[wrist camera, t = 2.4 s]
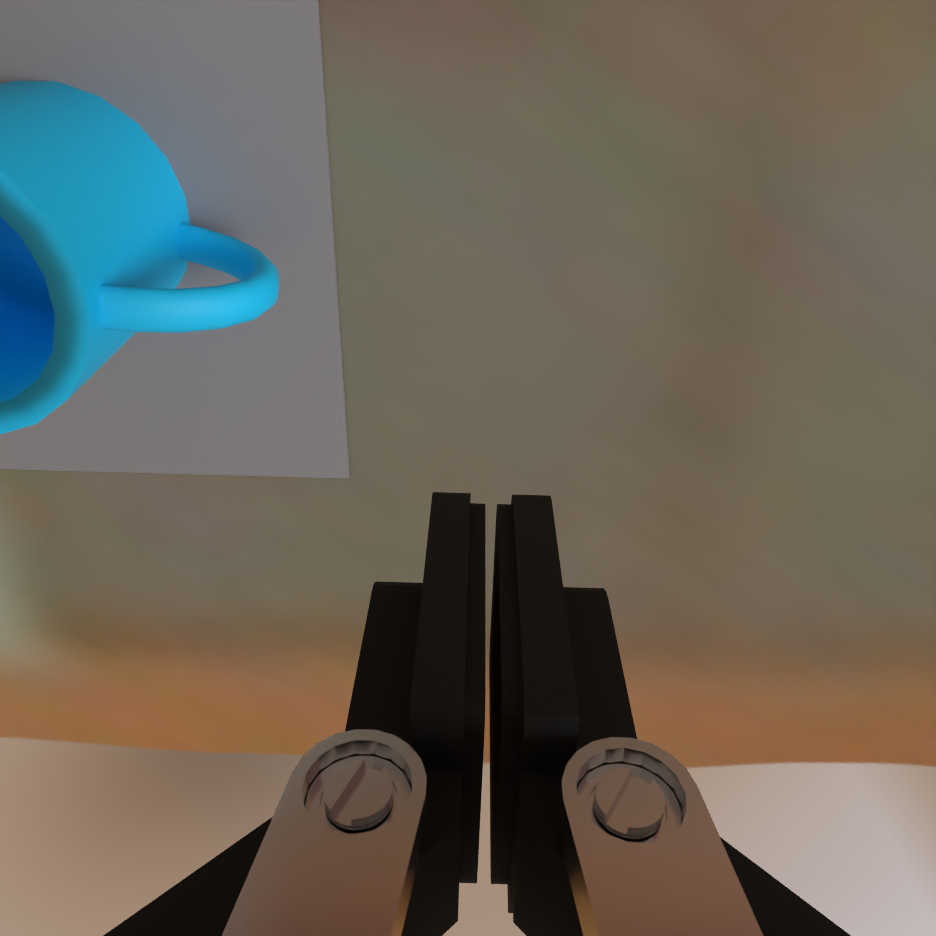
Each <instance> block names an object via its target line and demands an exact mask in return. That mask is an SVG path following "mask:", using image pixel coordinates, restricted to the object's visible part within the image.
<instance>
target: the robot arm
mask: <svg viewBox="0 0 936 936" xmlns="http://www.w3.org/2000/svg"><path fill="white" fill-rule="evenodd" d="M489 688H490V836H491V837H490V840H491V841H490V843H491V845H490V846H491V884H508V912H509V913H513V919H514V923H515V924H516V925H517V926H518V927H519V928H520V930H521V931H522V932H523V933H524V934H525V935H526V936H850V935H849V934H848V933H846V932H845V931H844V930H842V929H841V928H840V927H838V926H837V925H835V924H834V923H833V922H832V921H831V920H829V919H828V918H827V917H825V916H824V915H823V914H821V913H820V912H818V911H817V910H816V909H815V908H813V907H812V906H811V905H809V904H808V903H807V902H805V901H804V900H803V899H801V898H800V897H799V896H797V895H796V894H795V893H793V892H792V891H791V890H789V889H788V888H787V887H785V886H784V885H783V884H781V883H780V882H779V881H777V880H776V879H775V878H773V877H772V876H771V875H770V874H768V873H767V872H766V871H764V870H763V869H762V868H760V867H759V866H758V865H756V864H755V863H754V862H752V861H751V860H750V859H748V858H747V857H746V856H744V855H743V854H742V853H740V852H739V851H738V850H736V849H735V848H733V847H732V846H731V845H730V844H728V843H727V842H726V841H724V840H723V839H722V838H721V837H720V836H719V834H718V832H717V830H716V827H715V825H714V823H713V821H712V818H711V816H710V814H709V812H708V810H707V807H706V805H705V802H704V800H703V798H702V796H701V794H700V791H699V789H698V787H697V785H696V783H695V782H694V780H693V779H692V777H691V775H690V774H689V772H688V771H687V769H686V768H685V767H684V766H683V765H682V764H681V763H680V762H679V761H678V760H676V759H675V758H674V757H673V756H672V755H671V754H670V753H668V752H666V751H664V750H662V749H661V748H659V747H657V746H655V745H653V744H652V743H648V742H645V741H641V740H638V739H637V737H636V732H635V727H634V722H633V717H632V712H631V708H630V703H629V698H628V693H627V688H626V683H625V678H624V674H623V669H622V664H621V659H620V654H619V649H618V644H617V639H616V635H615V630H614V625H613V620H612V615H611V610H610V605H609V601H608V597H607V593H606V591H605V590H604V588H571V587H563V583H562V576H561V568H560V561H559V553H558V546H557V538H556V530H555V523H554V515H553V508H552V500H551V496H542V495H512V501H511V505H507V504H497V514H496V533H495V553H494V573H493V593H492V613H491V632H490V658H489ZM484 727H485V504H473V503H470V493H441V492H433V495H432V503H431V513H430V522H429V531H428V541H427V550H426V560H425V569H424V578H423V583H405V582H375V583H374V585H373V589H372V594H371V599H370V604H369V609H368V615H367V620H366V625H365V630H364V635H363V641H362V646H361V651H360V656H359V662H358V667H357V672H356V677H355V682H354V688H353V693H352V698H351V703H350V709H349V714H348V719H347V724H346V729H345V732H342V733H337V734H335V735H333V736H331V737H329V738H327V739H325V740H323V741H321V742H319V743H317V744H316V745H315V746H314V747H312V748H311V749H310V750H309V751H308V752H307V753H306V754H305V755H303V756H302V758H301V759H300V761H299V763H298V764H297V766H296V767H295V769H294V770H293V772H292V774H291V776H290V778H289V781H288V783H287V785H286V788H285V790H284V792H283V794H282V797H281V799H280V801H279V804H278V806H277V808H276V811H275V813H274V815H273V817H272V818H270V819H269V820H268V821H266V822H265V823H263V824H262V825H260V826H259V827H258V828H256V829H255V830H253V831H252V832H250V833H249V834H248V835H246V836H245V837H243V838H242V839H240V840H239V841H238V842H236V843H235V844H233V845H232V846H230V847H229V848H228V849H226V850H225V851H223V852H222V853H220V854H219V855H218V856H216V857H215V858H213V859H212V860H211V861H209V862H208V863H206V864H205V865H204V866H202V867H201V868H199V869H198V870H196V871H195V872H194V873H192V874H191V875H189V876H188V877H186V878H185V879H183V880H182V881H181V882H179V883H178V884H176V885H175V886H173V887H172V888H171V889H169V890H168V891H167V892H165V893H164V894H162V895H161V896H159V897H158V898H157V899H155V900H154V901H152V902H151V903H149V904H148V905H146V906H145V907H144V908H142V909H141V910H139V911H138V912H137V913H135V914H134V915H132V916H131V917H130V918H128V919H127V920H125V921H124V922H122V923H121V924H120V925H118V926H117V927H115V928H114V929H112V930H111V931H109V932H108V933H107V934H105V935H104V936H442V935H443V934H444V933H445V932H446V931H447V930H449V929H450V928H451V926H453V925H454V924H455V923H456V922H457V921H458V898H459V883H477V870H478V850H479V829H480V810H481V789H482V768H483V749H484Z"/></svg>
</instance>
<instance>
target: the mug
mask: <svg viewBox="0 0 936 936" xmlns="http://www.w3.org/2000/svg"><path fill="white" fill-rule="evenodd" d="M188 261H189V262H193V263H198V264H201V265H204V266H207V267H210V268H213V269H216V270H219V271H222V272H225V273H227V274H229V275H231V276H233V277H235V278H237V279H239V280H241V281H236V282H232V283H228V284H223V285H219V286H211V287H196V288H181V289H176V287H177V285H178V283H179V282H180V280H181V278H182V276H183V275H184V273H185V271H186V268H187V262H188ZM278 292H279V274H278V271H277V268H276V267H275V265H274V264H273V263H272V262H271V261H270V260H269V259H268V258H267V257H266V256H265V255H264V254H263V253H262V252H261V251H259V250H258V249H256V248H254V247H252V246H250V245H248V244H246V243H244V242H242V241H240V240H238V239H236V238H234V237H231V236H227V235H224V234H221V233H218V232H215V231H212V230H209V229H205V228H202V227H198V226H193V225H190V222H189V216H188V210H187V204H186V198H185V195H184V193H183V191H182V189H181V187H180V184H179V182H178V180H177V178H176V176H175V174H174V172H173V170H172V168H171V166H170V163H169V161H168V159H167V157H166V156H165V155H164V154H163V153H162V151H161V150H160V149H159V148H158V147H157V146H156V144H155V143H154V142H153V141H152V140H151V139H150V137H149V136H148V135H147V134H146V133H145V131H144V130H143V129H142V128H141V127H140V126H139V124H138V123H137V122H135V121H134V120H133V119H131V118H130V117H128V116H127V115H125V114H124V113H123V112H121V111H120V110H118V109H117V108H115V107H114V106H113V105H111V104H110V103H108V102H107V101H106V100H104V99H103V98H101V97H100V96H97V95H95V94H92V93H89V92H86V91H83V90H80V89H78V88H75V87H72V86H69V85H66V84H63V83H60V82H58V81H12V82H7V83H2V84H0V435H1V434H4V433H7V432H11V431H14V430H18V429H21V428H25V427H28V426H31V425H35V424H37V423H38V422H39V421H41V420H42V419H43V418H45V417H46V416H47V415H49V414H50V413H51V412H52V411H54V410H55V409H56V408H58V407H59V406H60V405H61V404H63V403H64V402H65V401H67V400H68V399H69V398H70V397H71V396H72V395H73V394H74V393H75V392H76V391H77V390H78V389H79V388H80V387H81V386H82V385H83V384H84V383H85V382H86V381H87V380H88V379H89V378H90V377H91V376H92V375H93V374H94V373H95V372H96V371H97V370H98V369H99V368H100V367H101V366H102V365H103V364H104V363H105V362H106V361H107V360H108V359H109V358H110V357H111V356H112V355H113V354H114V353H115V352H116V351H117V350H118V349H119V348H120V347H121V346H122V345H123V344H124V343H125V342H126V341H127V340H128V339H129V338H130V337H131V336H132V335H133V334H134V333H135V332H157V333H184V332H194V331H204V330H214V329H223V328H226V327H230V326H233V325H237V324H241V323H244V322H248V321H251V320H254V319H256V318H257V317H259V316H260V315H262V314H263V313H264V312H266V311H267V310H269V309H270V308H271V307H272V306H273V305H274V304H275V303H276V301H277V298H278Z"/></svg>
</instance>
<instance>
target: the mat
mask: <svg viewBox="0 0 936 936" xmlns="http://www.w3.org/2000/svg"><path fill="white" fill-rule="evenodd" d="M12 81H58V82H60V83H63V84H66V85H69V86H72V87H75V88H78V89H80V90H83V91H86V92H89V93H92V94H95V95H97V96H100V97H101V98H103V99H104V100H106V101H107V102H108V103H110V104H111V105H113V106H114V107H115V108H117V109H118V110H120V111H121V112H123V113H124V114H125V115H127V116H128V117H130V118H131V119H133V120H134V121H135V122H137V123H138V124H139V126H140V127H141V128H142V129H143V130H144V131H145V133H146V134H147V135H148V136H149V137H150V139H151V140H152V141H153V142H154V143H155V144H156V146H157V147H158V148H159V149H160V150H161V151H162V153H163V154H164V155H165V156H166V157H167V159H168V161H169V163H170V166H171V168H172V170H173V172H174V174H175V176H176V178H177V180H178V182H179V184H180V187H181V189H182V191H183V193H184V195H185V198H186V204H187V210H188V216H189V222H190V225H193V226H198V227H202V228H205V229H209V230H212V231H215V232H218V233H221V234H224V235H227V236H231V237H234V238H236V239H238V240H240V241H242V242H244V243H246V244H248V245H250V246H252V247H254V248H256V249H258V250H259V251H261V252H262V253H263V254H264V255H265V256H266V257H267V258H268V259H269V260H270V261H271V262H272V263H273V264H274V265H275V267H276V268H277V271H278V274H279V292H278V298H277V301H276V303H275V304H274V305H273V306H272V307H271V308H270V309H269V310H267V311H266V312H264V313H263V314H262V315H260V316H259V317H257V318H256V319H254V320H251V321H248V322H244V323H241V324H237V325H233V326H230V327H226V328H223V329H214V330H204V331H194V332H184V333H157V332H135V333H134V334H133V335H132V336H131V337H130V338H129V339H128V340H127V341H126V342H125V343H124V344H123V345H122V346H121V347H120V348H119V349H118V350H117V351H116V352H115V353H114V354H113V355H112V356H111V357H110V358H109V359H108V360H107V361H106V362H105V363H104V364H103V365H102V366H101V367H100V368H99V369H98V370H97V371H96V372H95V373H94V374H93V375H92V376H91V377H90V378H89V379H88V380H87V381H86V382H85V383H84V384H83V385H82V386H81V387H80V388H79V389H78V390H77V391H76V392H75V393H74V394H73V395H72V396H71V397H70V398H69V399H68V400H67V401H65V402H64V403H63V404H61V405H60V406H59V407H58V408H56V409H55V410H54V411H52V412H51V413H50V414H49V415H47V416H46V417H45V418H43V419H42V420H41V421H39V422H38V423H37V424H35V425H31V426H28V427H25V428H21V429H18V430H14V431H11V432H7V433H4V434H1V435H0V469H22V470H59V471H96V472H133V473H171V474H208V475H245V476H282V477H319V478H350V471H349V456H348V441H347V426H346V410H345V395H344V380H343V365H342V350H341V335H340V319H339V304H338V289H337V274H336V259H335V243H334V228H333V213H332V198H331V183H330V168H329V152H328V137H327V122H326V107H325V92H324V77H323V61H322V46H321V31H320V16H319V1H318V0H0V84H2V83H7V82H12ZM236 281H241V280H239V279H237V278H235V277H233V276H231V275H229V274H227V273H225V272H222V271H219V270H216V269H213V268H210V267H207V266H204V265H201V264H198V263H193V262H189V261H188V262H187V268H186V271H185V273H184V275H183V276H182V278H181V280H180V282H179V283H178V285H177V287H176V289H181V288H196V287H211V286H219V285H223V284H228V283H232V282H236Z"/></svg>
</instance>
